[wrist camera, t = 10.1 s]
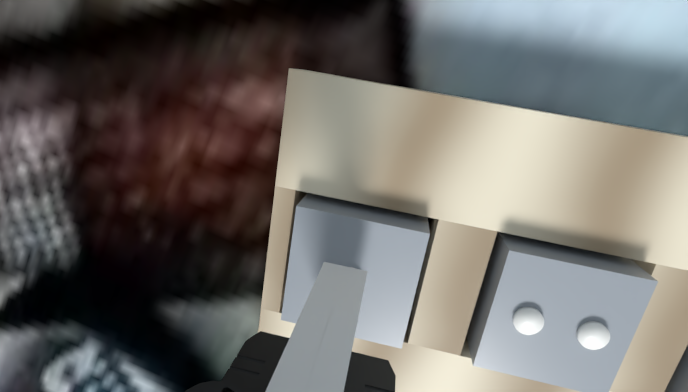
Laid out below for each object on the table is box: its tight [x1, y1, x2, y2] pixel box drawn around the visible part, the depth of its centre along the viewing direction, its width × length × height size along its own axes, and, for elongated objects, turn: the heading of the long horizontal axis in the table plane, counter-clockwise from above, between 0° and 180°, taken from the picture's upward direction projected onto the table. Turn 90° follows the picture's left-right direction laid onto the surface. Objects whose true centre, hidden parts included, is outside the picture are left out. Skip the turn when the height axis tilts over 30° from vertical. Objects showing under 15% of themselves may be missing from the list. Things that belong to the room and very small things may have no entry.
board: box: [258, 68, 688, 392], centre depth 16 cm, size 22×14×2 cm, turn 81°
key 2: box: [466, 232, 658, 392], centre depth 15 cm, size 5×5×3 cm
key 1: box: [281, 193, 430, 349], centre depth 16 cm, size 5×5×3 cm
